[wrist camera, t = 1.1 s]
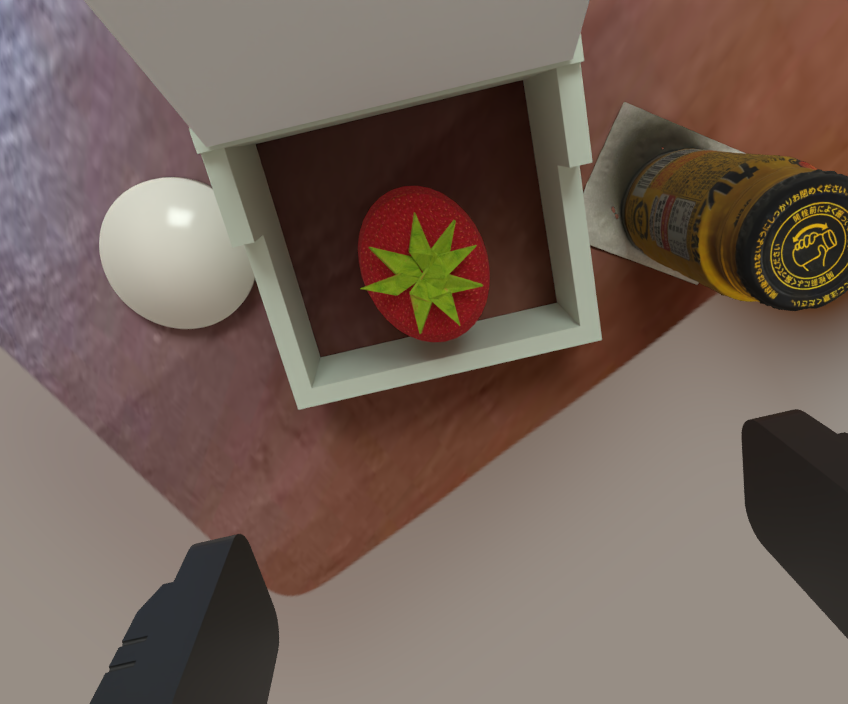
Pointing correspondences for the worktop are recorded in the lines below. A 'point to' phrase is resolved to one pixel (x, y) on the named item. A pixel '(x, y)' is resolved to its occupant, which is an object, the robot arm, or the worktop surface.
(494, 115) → the worktop surface
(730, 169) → the condiment
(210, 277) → the cream white rounded part
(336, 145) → the worktop surface
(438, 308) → the strawberry
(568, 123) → the cold frame
